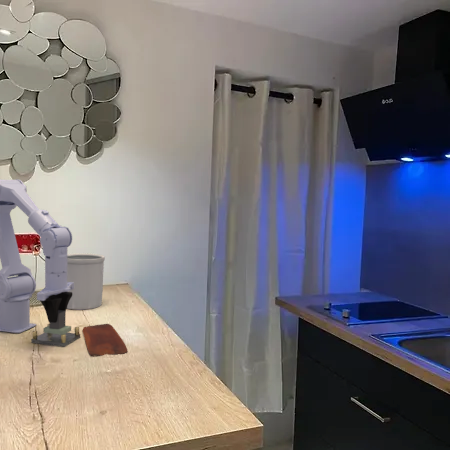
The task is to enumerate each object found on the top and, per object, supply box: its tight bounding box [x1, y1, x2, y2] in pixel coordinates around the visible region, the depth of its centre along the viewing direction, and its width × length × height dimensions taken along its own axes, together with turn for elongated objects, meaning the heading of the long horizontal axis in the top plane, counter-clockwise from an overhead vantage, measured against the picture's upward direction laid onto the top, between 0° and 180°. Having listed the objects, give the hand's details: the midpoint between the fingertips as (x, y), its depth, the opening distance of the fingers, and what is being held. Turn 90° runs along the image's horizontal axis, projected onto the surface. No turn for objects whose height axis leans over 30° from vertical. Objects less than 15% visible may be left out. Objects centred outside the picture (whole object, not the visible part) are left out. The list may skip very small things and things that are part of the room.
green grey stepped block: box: [42, 310, 72, 335], centre depth 130 cm, size 6×4×6 cm, turn 77°
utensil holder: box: [66, 252, 106, 311], centre depth 166 cm, size 15×15×18 cm
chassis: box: [30, 323, 81, 348], centre depth 130 cm, size 10×8×3 cm
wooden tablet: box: [81, 323, 128, 358], centre depth 133 cm, size 27×10×2 cm, turn 22°
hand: (56, 320), depth 130 cm, fingers closed on green grey stepped block, 3 cm apart
